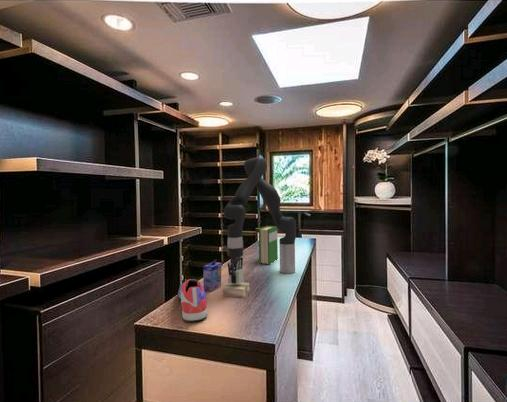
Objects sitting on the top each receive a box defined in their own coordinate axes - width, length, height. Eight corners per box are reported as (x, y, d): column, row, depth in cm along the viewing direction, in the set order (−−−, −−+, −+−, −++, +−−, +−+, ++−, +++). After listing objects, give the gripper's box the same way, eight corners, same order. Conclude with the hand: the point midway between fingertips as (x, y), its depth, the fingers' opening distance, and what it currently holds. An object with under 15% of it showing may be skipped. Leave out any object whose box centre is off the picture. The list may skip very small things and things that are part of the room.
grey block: (234, 283, 154) (234, 276, 154) (244, 285, 151) (244, 277, 151) (228, 286, 149) (228, 279, 149) (238, 288, 146) (238, 280, 146)
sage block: (233, 280, 142) (233, 268, 142) (242, 281, 141) (242, 269, 141) (229, 283, 138) (228, 271, 138) (238, 284, 136) (238, 271, 136)
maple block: (230, 289, 145) (230, 281, 145) (249, 291, 142) (249, 283, 142) (223, 296, 135) (223, 288, 135) (243, 298, 133) (243, 289, 133)
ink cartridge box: (212, 291, 141) (212, 262, 141) (202, 290, 143) (202, 261, 143) (222, 285, 150) (221, 258, 150) (212, 284, 152) (212, 257, 152)
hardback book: (269, 265, 192) (269, 229, 191) (259, 264, 195) (258, 228, 194) (277, 259, 208) (277, 226, 208) (268, 258, 211) (267, 225, 210)
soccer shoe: (203, 291, 143) (203, 264, 143) (213, 322, 108) (212, 286, 108) (177, 293, 140) (177, 266, 140) (178, 326, 105) (178, 290, 104)
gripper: (233, 243, 147) (234, 276, 147) (221, 248, 133) (222, 285, 134) (247, 244, 144) (248, 277, 145) (236, 249, 131) (237, 286, 131)
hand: (236, 281), depth 139 cm, fingers closed on sage block, 5 cm apart
